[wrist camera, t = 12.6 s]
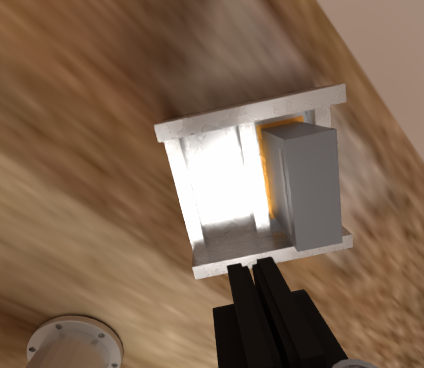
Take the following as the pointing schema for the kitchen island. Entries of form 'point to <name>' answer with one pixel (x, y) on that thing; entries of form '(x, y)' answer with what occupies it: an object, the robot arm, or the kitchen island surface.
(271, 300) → the robot arm
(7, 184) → the kitchen island surface
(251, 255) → the rack
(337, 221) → the panel
